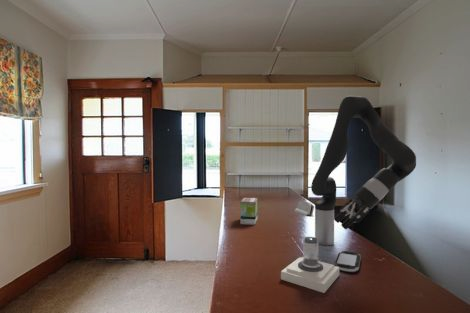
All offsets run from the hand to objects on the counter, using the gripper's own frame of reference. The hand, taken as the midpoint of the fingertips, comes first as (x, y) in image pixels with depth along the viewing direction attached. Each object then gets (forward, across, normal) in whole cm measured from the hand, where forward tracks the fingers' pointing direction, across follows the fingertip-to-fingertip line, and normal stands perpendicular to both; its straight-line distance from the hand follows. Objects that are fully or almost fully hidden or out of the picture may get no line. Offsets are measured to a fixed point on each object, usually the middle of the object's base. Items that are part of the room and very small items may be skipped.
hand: (339, 224), depth 101 cm
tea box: (+38, -78, -9) cm, 87 cm away
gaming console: (+9, -13, +20) cm, 25 cm away
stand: (+22, 0, +7) cm, 22 cm away
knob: (+18, 0, +4) cm, 19 cm away
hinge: (+9, -102, +20) cm, 104 cm away
